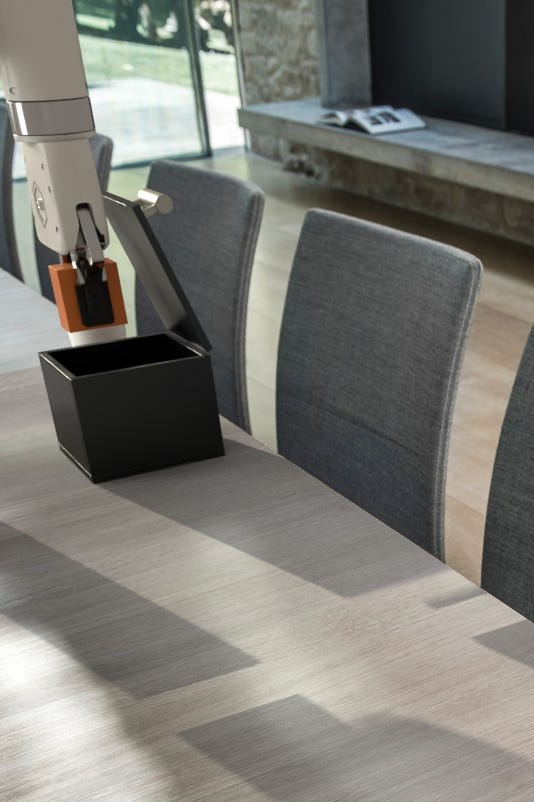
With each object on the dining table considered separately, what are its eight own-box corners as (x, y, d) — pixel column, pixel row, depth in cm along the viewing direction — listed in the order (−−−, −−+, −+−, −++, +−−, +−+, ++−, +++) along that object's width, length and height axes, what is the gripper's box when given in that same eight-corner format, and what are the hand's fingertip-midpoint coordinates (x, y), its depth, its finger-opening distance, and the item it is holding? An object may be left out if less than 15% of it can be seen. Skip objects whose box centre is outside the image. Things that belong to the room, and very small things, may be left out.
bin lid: (131, 207, 109) (174, 184, 111) (93, 192, 119) (133, 170, 120) (206, 352, 120) (245, 330, 121) (165, 328, 129) (201, 307, 130)
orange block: (70, 333, 116) (56, 270, 113) (61, 326, 118) (47, 265, 115) (128, 323, 119) (116, 262, 115) (118, 317, 121) (107, 257, 118)
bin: (93, 483, 119) (70, 379, 114) (60, 450, 128) (37, 352, 123) (225, 455, 126) (210, 355, 120) (185, 424, 135) (169, 330, 129)
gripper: (-9, 117, 112) (35, 311, 122) (34, 130, 101) (79, 344, 111) (68, 111, 116) (105, 301, 126) (118, 123, 104) (155, 331, 114)
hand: (93, 319), depth 118 cm, fingers closed on orange block, 3 cm apart
